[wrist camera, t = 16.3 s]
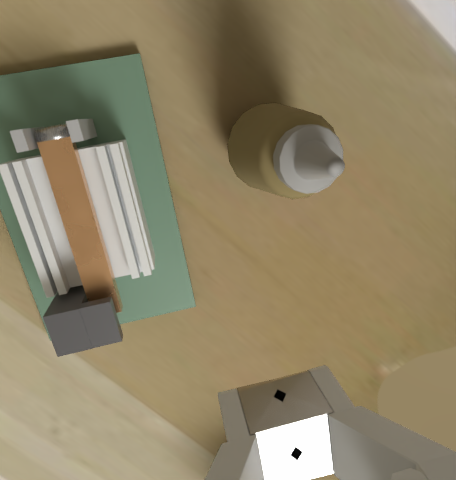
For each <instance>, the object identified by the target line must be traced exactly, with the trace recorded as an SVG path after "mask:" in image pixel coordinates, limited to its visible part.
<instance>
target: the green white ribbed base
mask: <svg viewBox="0 0 456 480" xmlns="http://www.w3.org/2000/svg"><path fill="white" fill-rule="evenodd" d="M65 123H66V124H67V127H68V131H69V134H70V138H71V141H72V143H74V142H76V146H77V149H78V153H79V156H80V160H81V163H82V167H83V170H84V173H85V177H86V180H87V184H88V187H89V191H90V194H91V198H92V201H93V204H94V208H95V211H96V215H97V218H98V222H99V225H100V229H101V232H102V236H103V239H104V242H105V246H106V249H107V253H108V256H109V260H110V263H111V267H112V270H113V273H114V277H115V280H116V284H117V287H118V291H119V294H120V298H121V301H122V305H123V308H122V312H118V313H117V317H118V320H119V323H120V324H123V323H127V322H132V321H136V320H140V319H145V318H149V317H153V316H157V315H162V314H166V313H170V312H175V311H179V310H183V309H188V308H192V307H196V305H195V300H194V295H193V291H192V286H191V282H190V277H189V273H188V268H187V264H186V259H185V255H184V250H183V246H182V241H181V237H180V232H179V228H178V223H177V219H176V214H175V210H174V205H173V200H172V196H171V191H170V187H169V182H168V178H167V173H166V169H165V164H164V160H163V155H162V151H161V146H160V142H159V137H158V133H157V128H156V124H155V119H154V115H153V110H152V106H151V101H150V97H149V92H148V88H147V83H146V79H145V74H144V70H143V65H142V61H141V56H140V53H139V54H133V55H127V56H120V57H114V58H108V59H101V60H95V61H89V62H83V63H76V64H70V65H64V66H57V67H51V68H45V69H38V70H32V71H26V72H19V73H13V74H7V75H1V76H0V210H1V213H2V215H3V218H4V221H5V223H6V226H7V229H8V231H9V234H10V236H11V239H12V242H13V244H14V247H15V249H16V252H17V255H18V257H19V260H20V263H21V265H22V268H23V270H24V273H25V276H26V278H27V281H28V284H29V286H30V289H31V291H32V294H33V297H34V299H35V302H36V304H37V307H38V310H39V312H40V315H41V318H42V320H43V316H44V314H45V312H46V311H47V309H48V307H49V306H50V304H51V302H52V300H53V299H54V297H55V295H56V294H57V292H58V293H59V295H62V294H67V293H68V291H69V289H70V288H71V287H76V286H80V285H83V284H82V281H81V278H80V275H79V272H78V269H77V266H76V263H75V259H74V256H73V253H72V250H71V247H70V244H69V241H68V238H67V235H66V231H65V228H64V225H63V222H62V219H61V216H60V213H59V210H58V207H57V203H56V200H55V197H54V194H53V191H52V188H51V185H50V182H49V179H48V175H47V172H46V169H45V166H44V163H43V160H42V157H41V154H40V151H39V147H38V144H37V140H36V137H35V132H34V131H35V129H36V128H42V127H48V126H54V125H59V124H65ZM43 323H44V325H45V322H44V320H43ZM45 328H46V331H47V333H48V330H47V327H46V325H45ZM48 336H49V338H50V335H49V333H48ZM50 340H51V338H50Z"/></svg>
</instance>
